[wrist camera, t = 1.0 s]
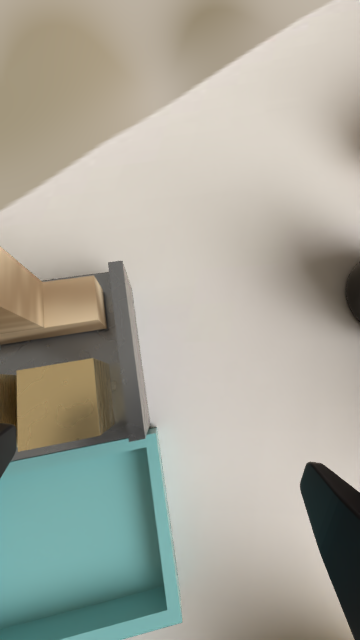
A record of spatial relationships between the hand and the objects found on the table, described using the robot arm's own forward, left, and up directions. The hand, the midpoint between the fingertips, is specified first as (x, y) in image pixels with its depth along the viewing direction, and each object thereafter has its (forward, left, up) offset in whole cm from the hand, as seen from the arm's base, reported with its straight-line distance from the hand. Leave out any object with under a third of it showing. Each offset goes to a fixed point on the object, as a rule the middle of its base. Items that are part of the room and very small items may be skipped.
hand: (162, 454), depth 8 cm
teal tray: (-10, 0, -14) cm, 17 cm away
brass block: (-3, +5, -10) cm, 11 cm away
